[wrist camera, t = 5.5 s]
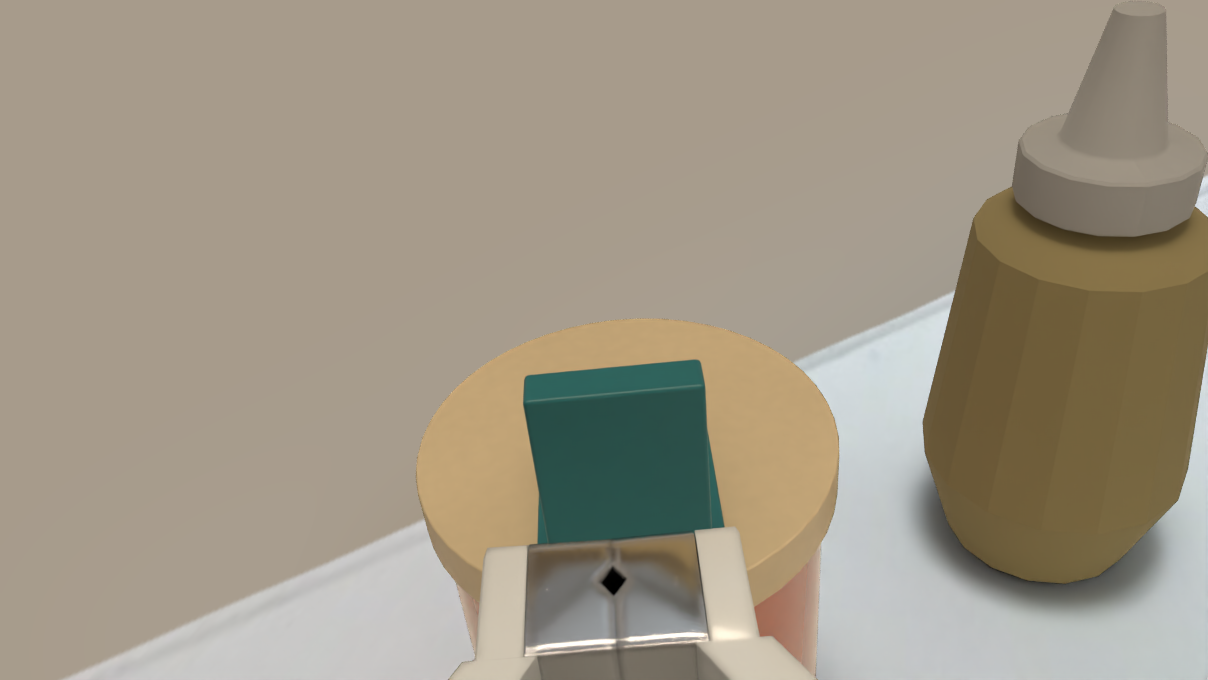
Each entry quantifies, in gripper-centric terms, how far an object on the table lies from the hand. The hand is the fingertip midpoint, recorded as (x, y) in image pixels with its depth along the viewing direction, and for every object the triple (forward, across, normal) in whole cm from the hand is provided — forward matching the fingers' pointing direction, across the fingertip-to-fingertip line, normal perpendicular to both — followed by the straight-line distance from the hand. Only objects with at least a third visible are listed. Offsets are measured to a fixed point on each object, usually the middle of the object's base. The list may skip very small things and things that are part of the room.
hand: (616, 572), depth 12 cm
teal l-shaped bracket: (+7, 0, +5) cm, 9 cm away
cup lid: (+9, 0, +7) cm, 11 cm away
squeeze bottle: (+17, -14, +18) cm, 28 cm away
